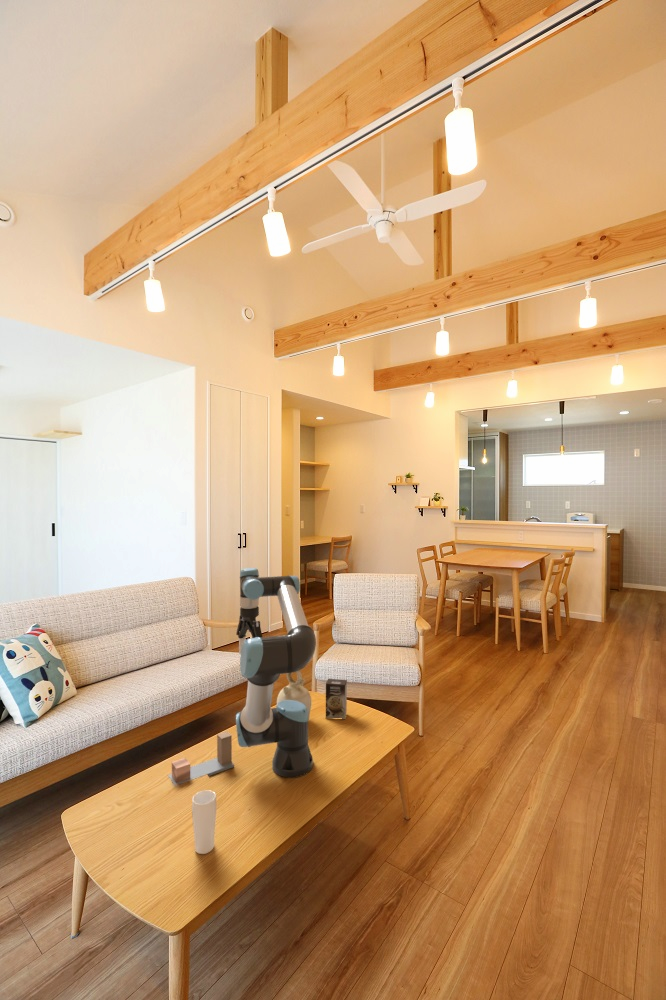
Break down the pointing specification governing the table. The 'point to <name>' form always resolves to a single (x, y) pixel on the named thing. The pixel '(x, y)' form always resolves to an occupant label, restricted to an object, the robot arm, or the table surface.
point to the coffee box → (336, 698)
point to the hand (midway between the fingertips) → (249, 658)
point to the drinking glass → (204, 820)
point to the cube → (181, 769)
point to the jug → (296, 691)
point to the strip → (213, 760)
